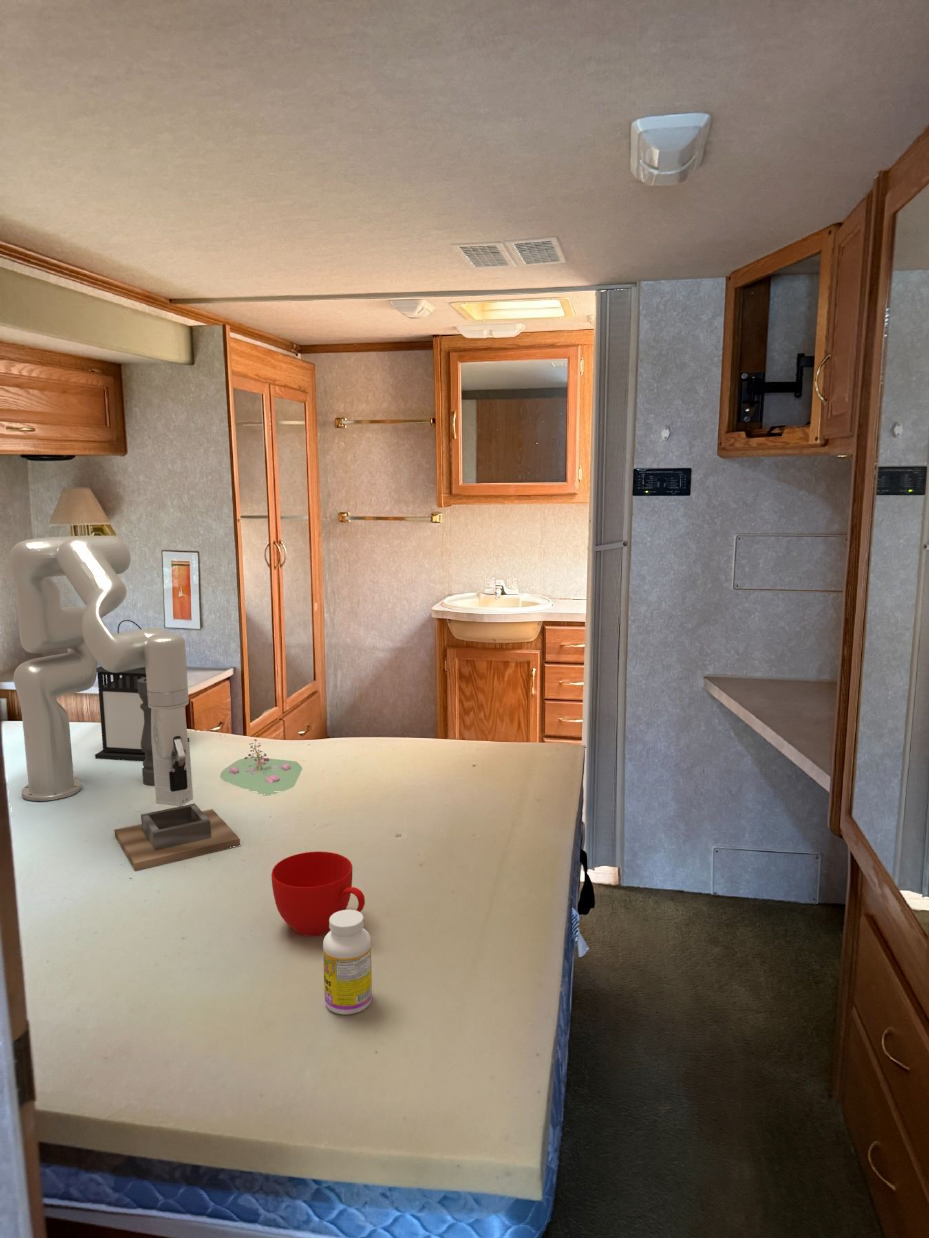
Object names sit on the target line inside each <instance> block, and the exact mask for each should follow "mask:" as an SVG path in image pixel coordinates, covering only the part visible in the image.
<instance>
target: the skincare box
mask: <svg viewBox="0 0 929 1238" xmlns="http://www.w3.org/2000/svg"><path fill="white" fill-rule="evenodd" d="M190 748H191V747H190V742H188V753H187V754H186V755H185V756H186V759H185V761H186V762H185V763H186V770H187V786H188V787H187V789H185V790H179V791H174V792H172V791H171V790H170V780H169V772H170V771H171V769H170V764H169V758H168V757H167V758H166V759H162V758H161V757H160V756H159V755H158V754H157V753H156V746H155V745H153V746H152V753H153V767H154V782H155V786H154V795H155V803H156V804H160V805H165V806H173V807H180V806H184V805H187V803H190V802H191V801H193V800H194V794H193V792H194V791H193V779H192V776H193V775H192V764H191V762H192V761H191V749H190ZM184 751H185V750H184ZM173 755H177V754H176V751H175V752H174V753H171V756H173ZM175 761H177V759H173V762H174V763H175Z"/></svg>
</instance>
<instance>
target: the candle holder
mask: <svg viewBox="0 0 929 1238" xmlns="http://www.w3.org/2000/svg"><path fill="white" fill-rule="evenodd" d="M137 683H138V694H139V695H140V698H141V700H142V701H143V703H142V704H141V705H140V708H141V709H142V710H143V711H144V727H143V732H142V738H141V749H142V751H143V752H144V753H145V756H146V758H145V760H144V761H143V762H142V766H143V767H142V769H141V772H142V776H141V777H142V784H143V785H144V786H148V787H151V786H152V787H155V782H154V767H153V753H152V741H151V708H149V707H148V696H147V681H146V678H141V679H138V680H137Z"/></svg>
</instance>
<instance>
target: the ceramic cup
mask: <svg viewBox="0 0 929 1238" xmlns="http://www.w3.org/2000/svg"><path fill="white" fill-rule="evenodd" d="M270 878H271V886H272V892H273V897H274V902H275V906H276V908H277V911H278V913H279V915H280V916H281V918H282V919H283V920H284V922H285V924H287V925H288V926H289V927H290V928H291V929H292V930H294V932H295V933H296V934H298V935H301V936H305V937H317V936H321V935H325V934H326V933H327V934H328V933H329V932H330V931H331V930H330V928H329V919H330V917H331V915H333V914H334V913H336V912H338V911H342V910H347V907H348V905H349V904H350V900H351V895H354V896H355V897H356V899H357V903H358V905H357V908H356V909H355V910H356V911H359V912H360V913H361V912H362V911H363V910H364V908H365V905H366V899H365V895H364V893H363V891H362V890H360V889H359V888H358V887H355V886H353V864H352V862H351V860H349V858H347V857H345V856H343V854H340V853H336V852H330V851H319V850H318V851H307V852H306V851H305V852H300V853H297V854H293V855H290V856H288V857H285V858H283V859H281V860H280V861H278V862H277V863H276V864H275V865H274V866H273V868H272V871H271V877H270Z"/></svg>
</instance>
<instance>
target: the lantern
mask: <svg viewBox="0 0 929 1238" xmlns="http://www.w3.org/2000/svg"><path fill="white" fill-rule="evenodd" d="M123 622H130V623H132V624H134V625H135V626H137V627H138V629H139V630H141V629H142V628H141V626H140V625H139V624H137V623H136V622H135V621H133V620H130V619H123V620H122V621H120V622H119V624H118V625H117V633H120V626H121V624H122V623H123ZM96 676H97V687H98V700H99V701H98V702H99V712H100V713H99V714H100V725H101V728H100V730H101V741H102V750H100V751H98V752H96V753H95V754H94V759H95V760H112V761H127V762H128V761H130V762H142V763H143V761H144V760H145V758H146V756H145V753H144V752H143V751H142V749H141V738H142V732H143V727H144V711H143V710H142V709H141V708H140V705H141V704H142V703H143V701H142V700H141V698H140V695H139V694H138V683H137V680H138V679H141V678H146V667H143V668H137V669H133V670H128V671H124V672H118V673H114V672H109V671H107V670H105V669H104V668H103V667H102V666H101V665H100V666H97V675H96ZM187 738H188V743H190V737H187Z"/></svg>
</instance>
